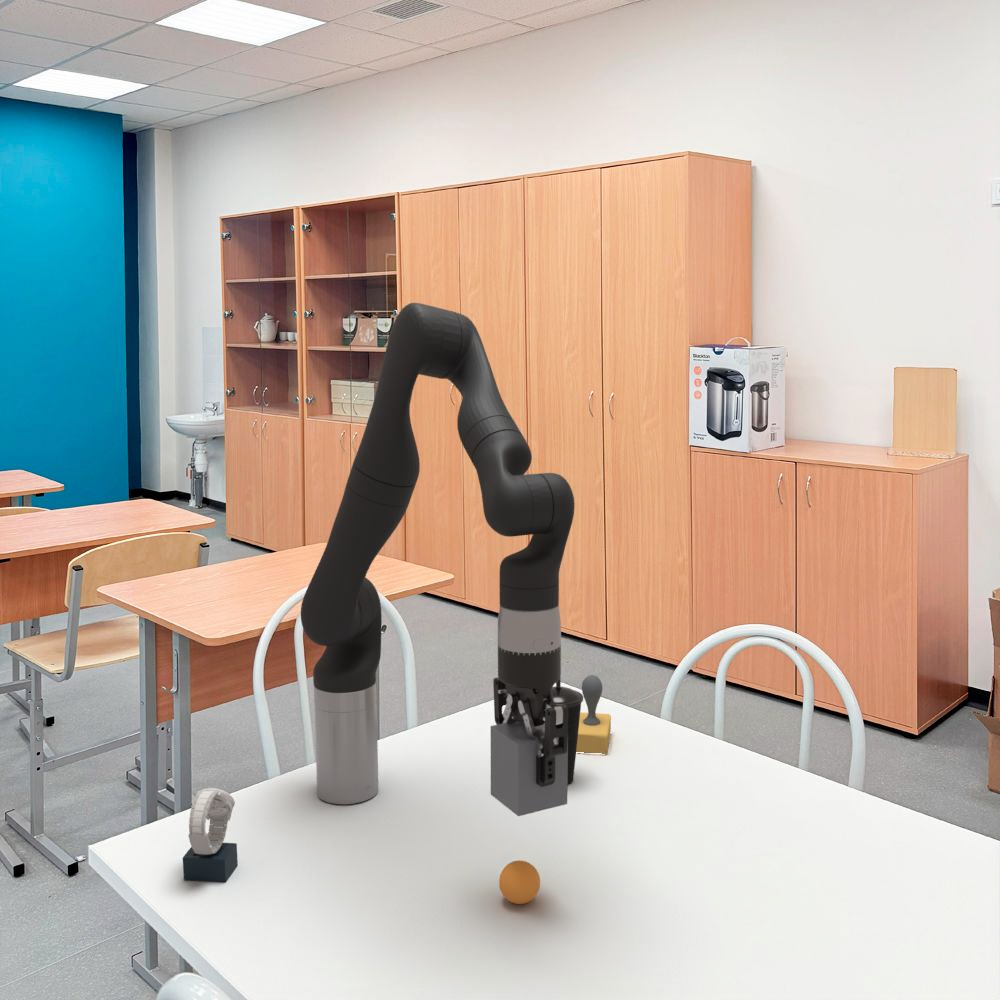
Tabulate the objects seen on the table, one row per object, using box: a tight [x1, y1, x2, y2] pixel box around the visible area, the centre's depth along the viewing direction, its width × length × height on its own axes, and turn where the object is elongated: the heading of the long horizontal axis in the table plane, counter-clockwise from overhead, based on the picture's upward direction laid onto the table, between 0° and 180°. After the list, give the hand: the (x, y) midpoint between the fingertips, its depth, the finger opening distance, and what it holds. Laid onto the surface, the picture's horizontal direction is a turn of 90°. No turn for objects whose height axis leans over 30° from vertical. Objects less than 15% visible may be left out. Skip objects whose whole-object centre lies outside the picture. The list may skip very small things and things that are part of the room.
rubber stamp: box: [576, 674, 612, 755], centre depth 176 cm, size 10×6×12 cm, turn 171°
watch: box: [182, 787, 239, 883], centre depth 134 cm, size 6×8×11 cm
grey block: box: [490, 722, 568, 817], centre depth 127 cm, size 7×7×9 cm
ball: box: [498, 860, 541, 905], centre depth 128 cm, size 5×5×5 cm
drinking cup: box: [551, 677, 584, 786], centre depth 161 cm, size 8×8×20 cm
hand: (529, 773), depth 127 cm, fingers closed on grey block, 7 cm apart
